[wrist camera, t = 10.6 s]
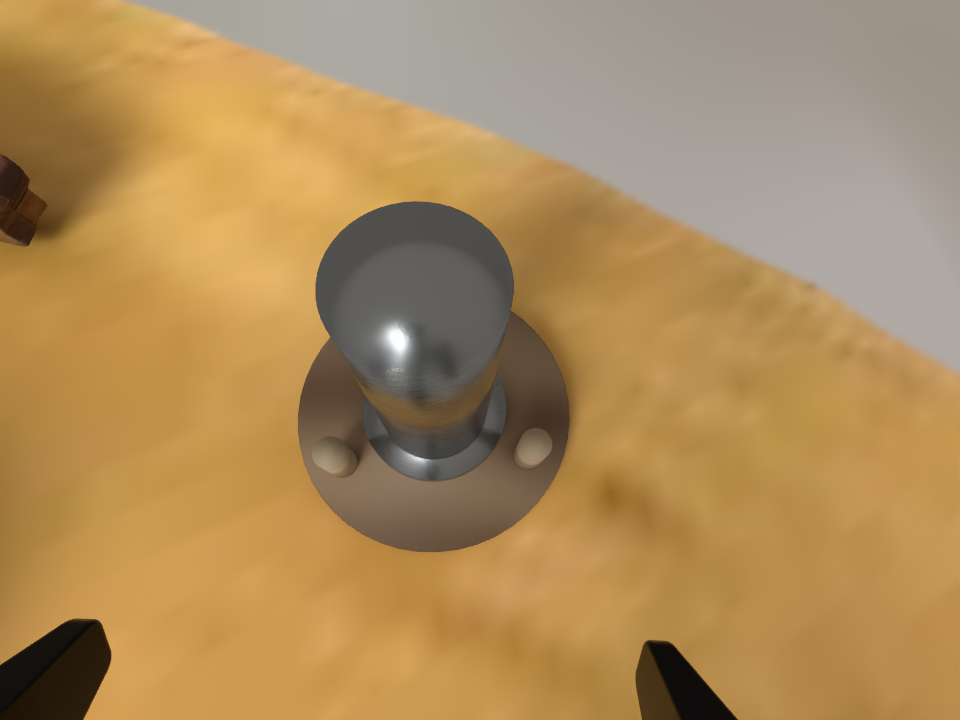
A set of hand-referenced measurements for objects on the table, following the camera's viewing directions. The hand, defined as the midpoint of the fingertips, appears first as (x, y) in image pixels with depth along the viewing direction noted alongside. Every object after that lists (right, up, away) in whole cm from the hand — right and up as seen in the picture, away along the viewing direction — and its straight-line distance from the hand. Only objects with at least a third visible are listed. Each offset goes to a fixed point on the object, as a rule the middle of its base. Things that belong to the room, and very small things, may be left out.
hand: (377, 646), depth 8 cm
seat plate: (0, +2, +14) cm, 14 cm away
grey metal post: (0, +3, +13) cm, 13 cm away
